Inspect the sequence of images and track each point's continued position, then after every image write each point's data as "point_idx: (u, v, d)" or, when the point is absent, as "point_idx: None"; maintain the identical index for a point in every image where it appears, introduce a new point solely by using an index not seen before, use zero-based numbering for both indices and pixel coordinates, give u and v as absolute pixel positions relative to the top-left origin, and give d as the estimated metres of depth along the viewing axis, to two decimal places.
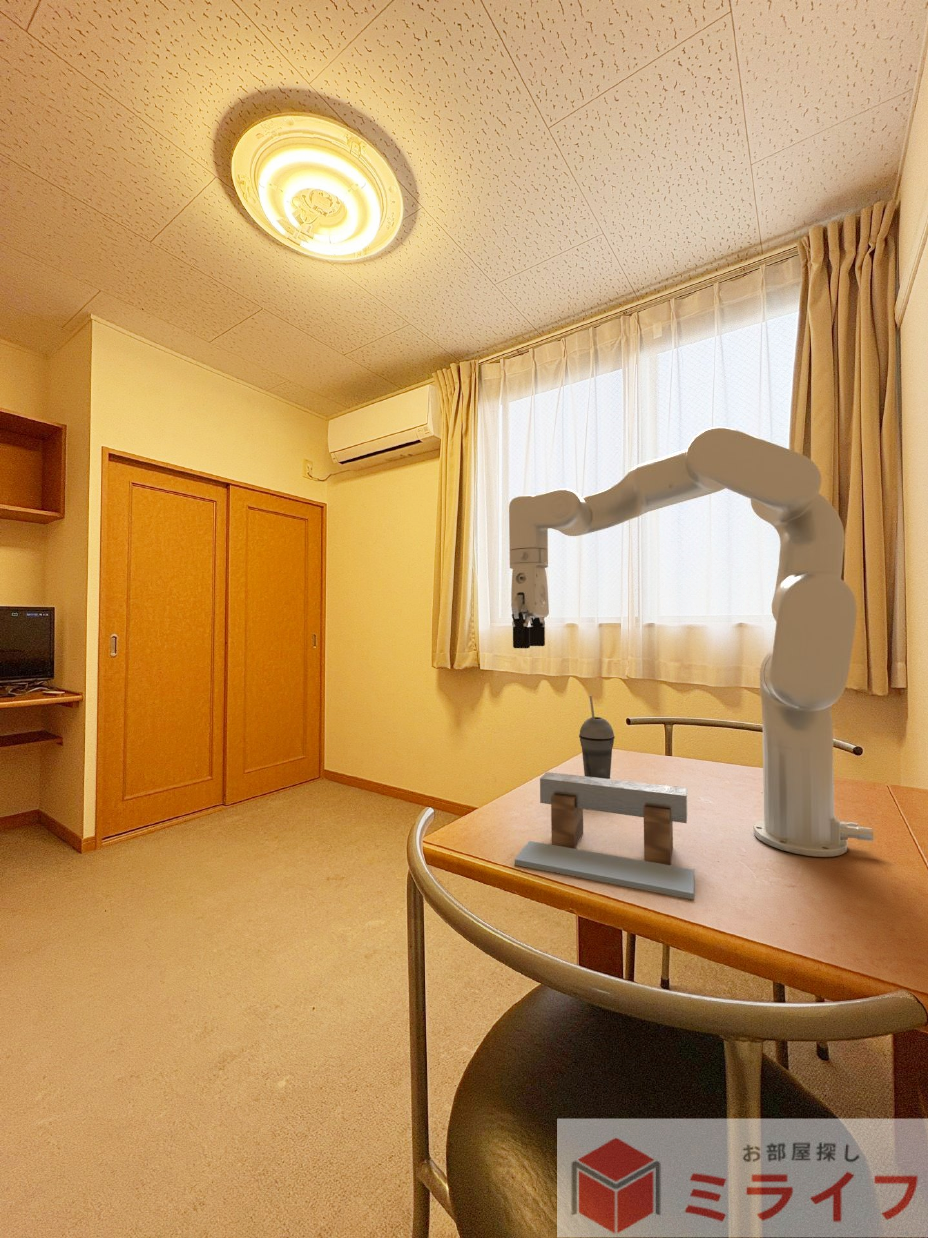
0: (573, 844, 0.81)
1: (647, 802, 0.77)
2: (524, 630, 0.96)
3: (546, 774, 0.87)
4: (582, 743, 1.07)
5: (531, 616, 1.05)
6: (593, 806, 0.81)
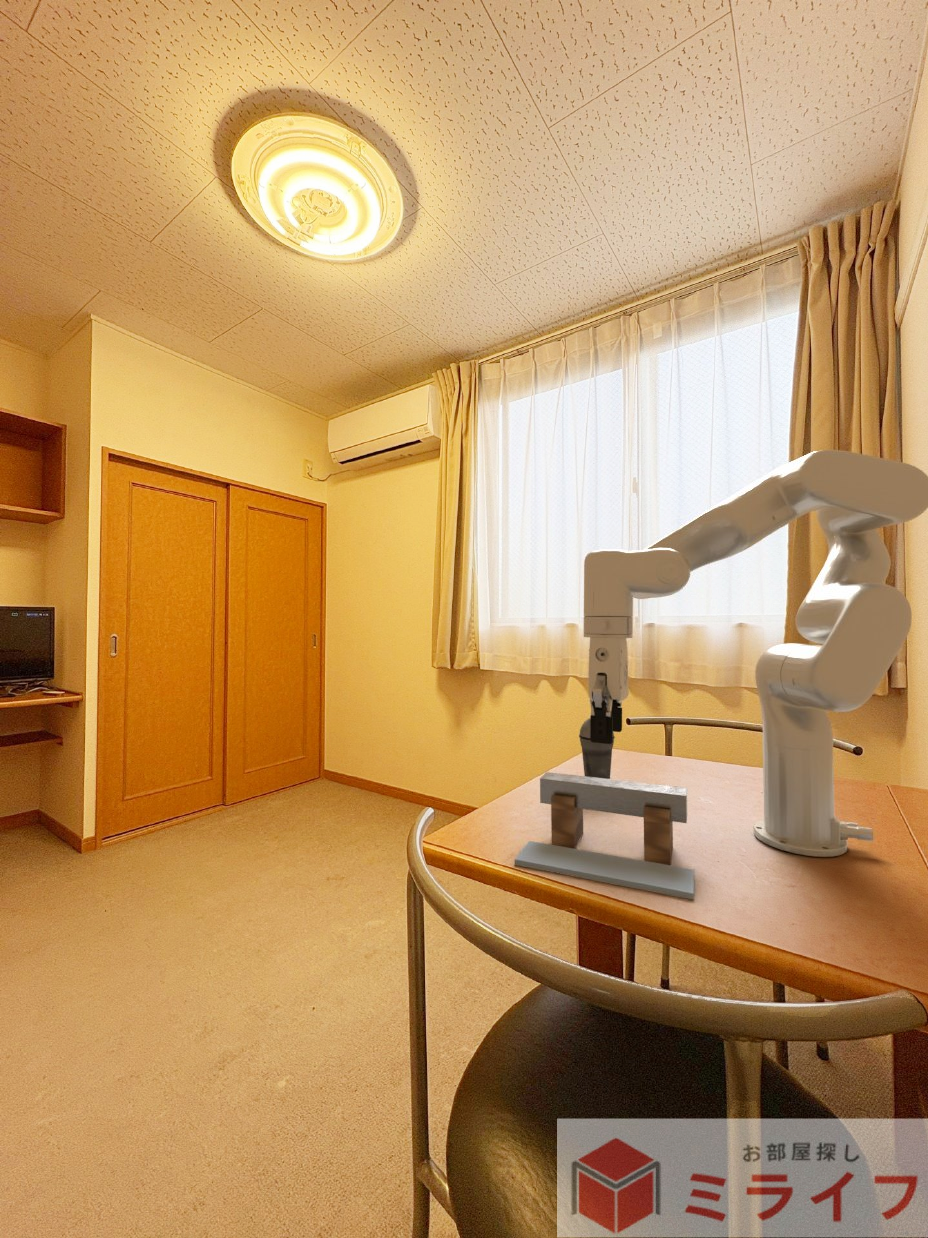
0: (573, 844, 0.81)
1: (647, 802, 0.77)
2: (606, 721, 0.76)
3: (546, 774, 0.87)
4: (582, 743, 1.07)
5: None
6: (593, 806, 0.81)
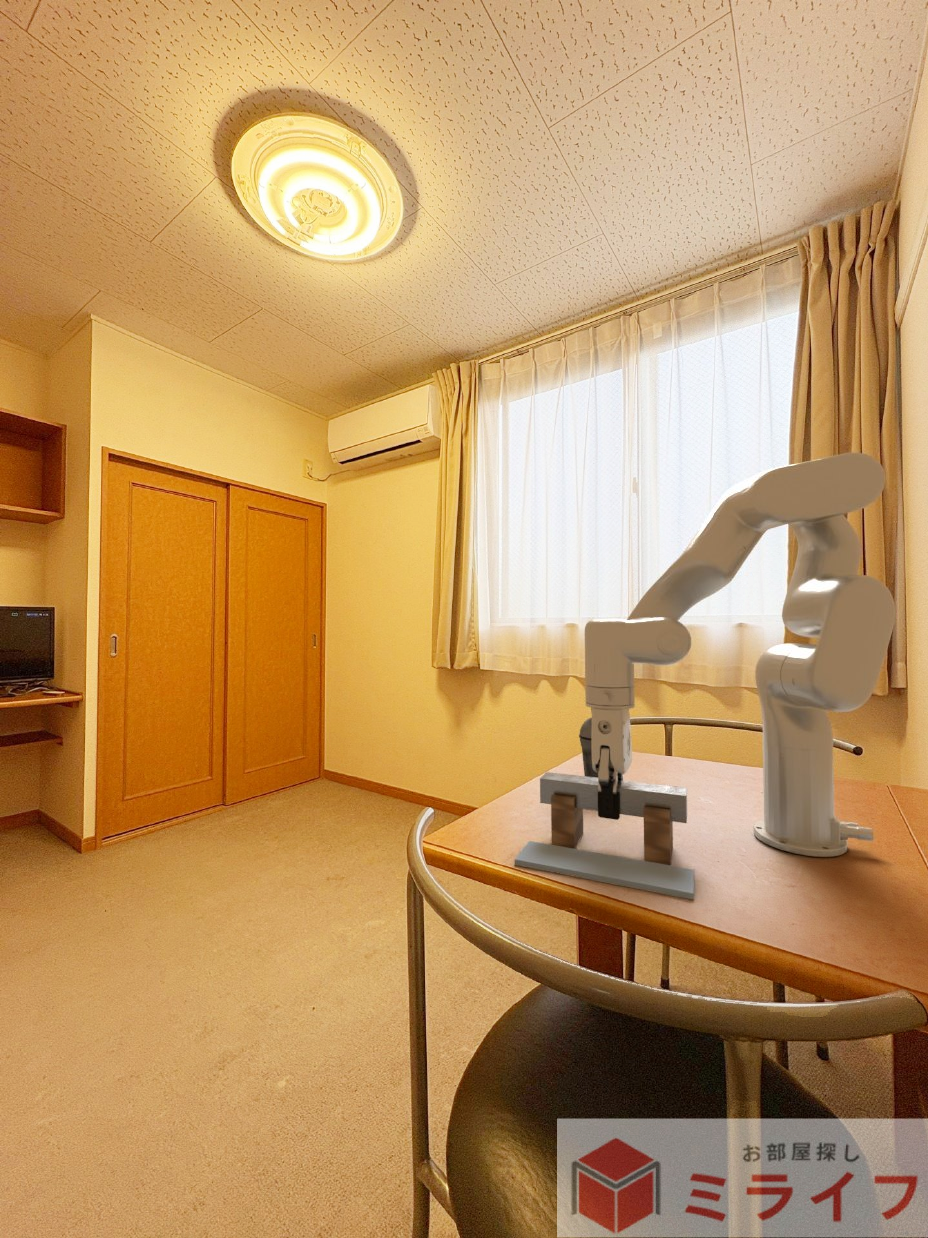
0: (573, 844, 0.81)
1: (647, 802, 0.77)
2: (613, 798, 0.79)
3: (546, 774, 0.87)
4: (582, 743, 1.07)
5: None
6: (593, 806, 0.81)
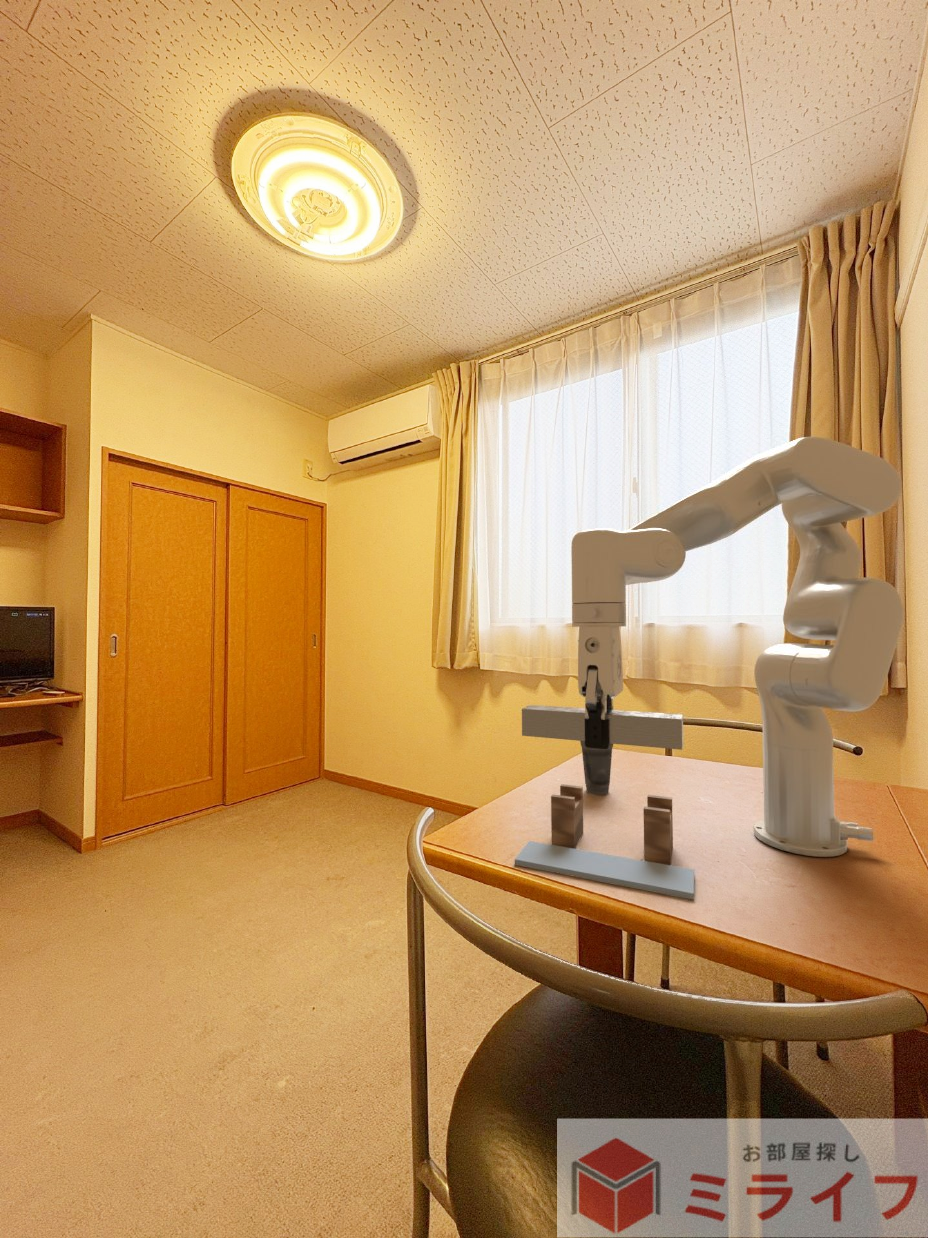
0: (573, 844, 0.81)
1: (639, 729, 0.70)
2: (601, 725, 0.71)
3: (529, 706, 0.79)
4: (582, 743, 1.07)
5: (597, 694, 0.76)
6: (579, 736, 0.73)
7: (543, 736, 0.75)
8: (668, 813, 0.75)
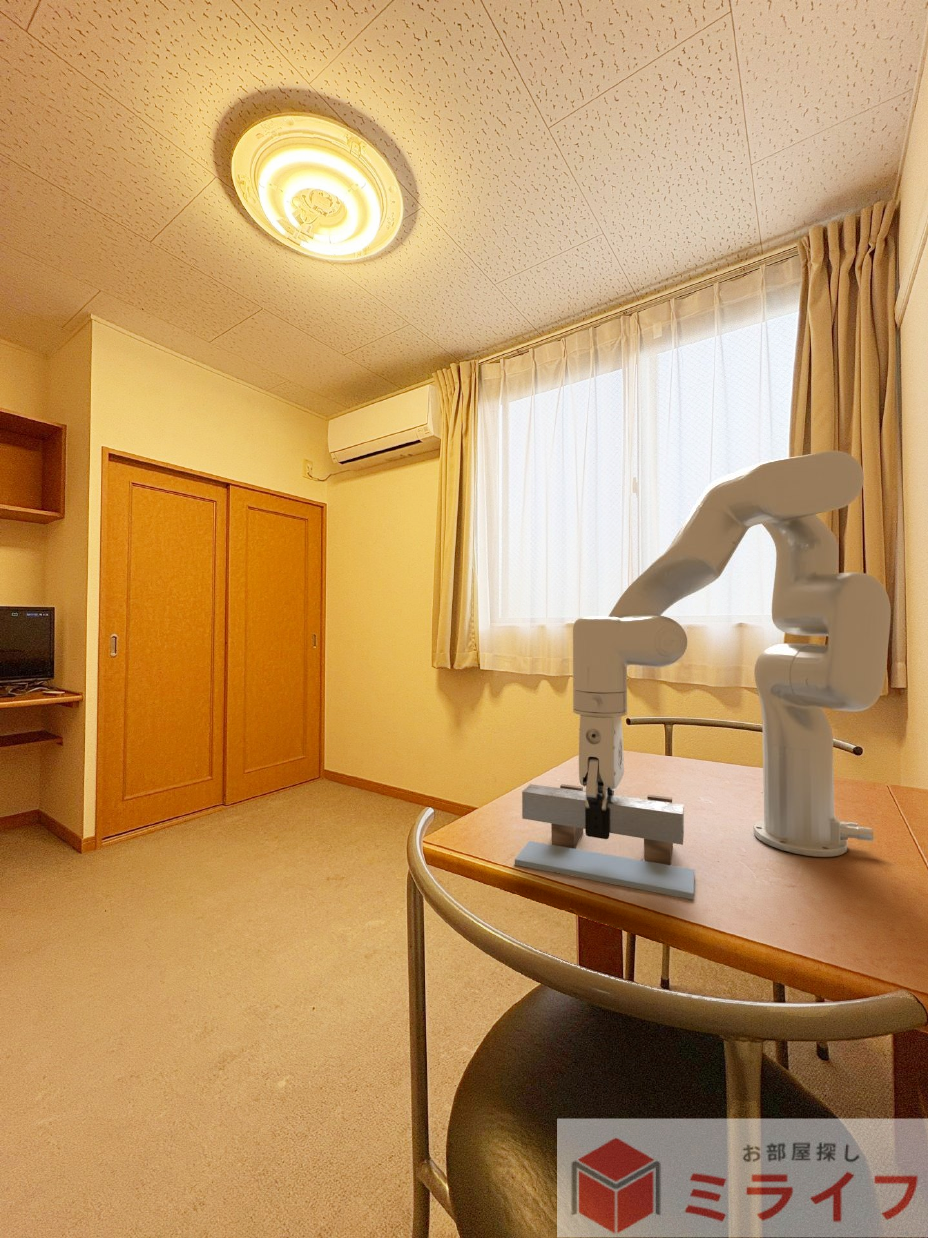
0: (573, 844, 0.81)
1: (639, 821, 0.70)
2: (602, 815, 0.71)
3: (529, 787, 0.79)
4: None
5: None
6: (580, 823, 0.73)
7: (543, 821, 0.75)
8: None
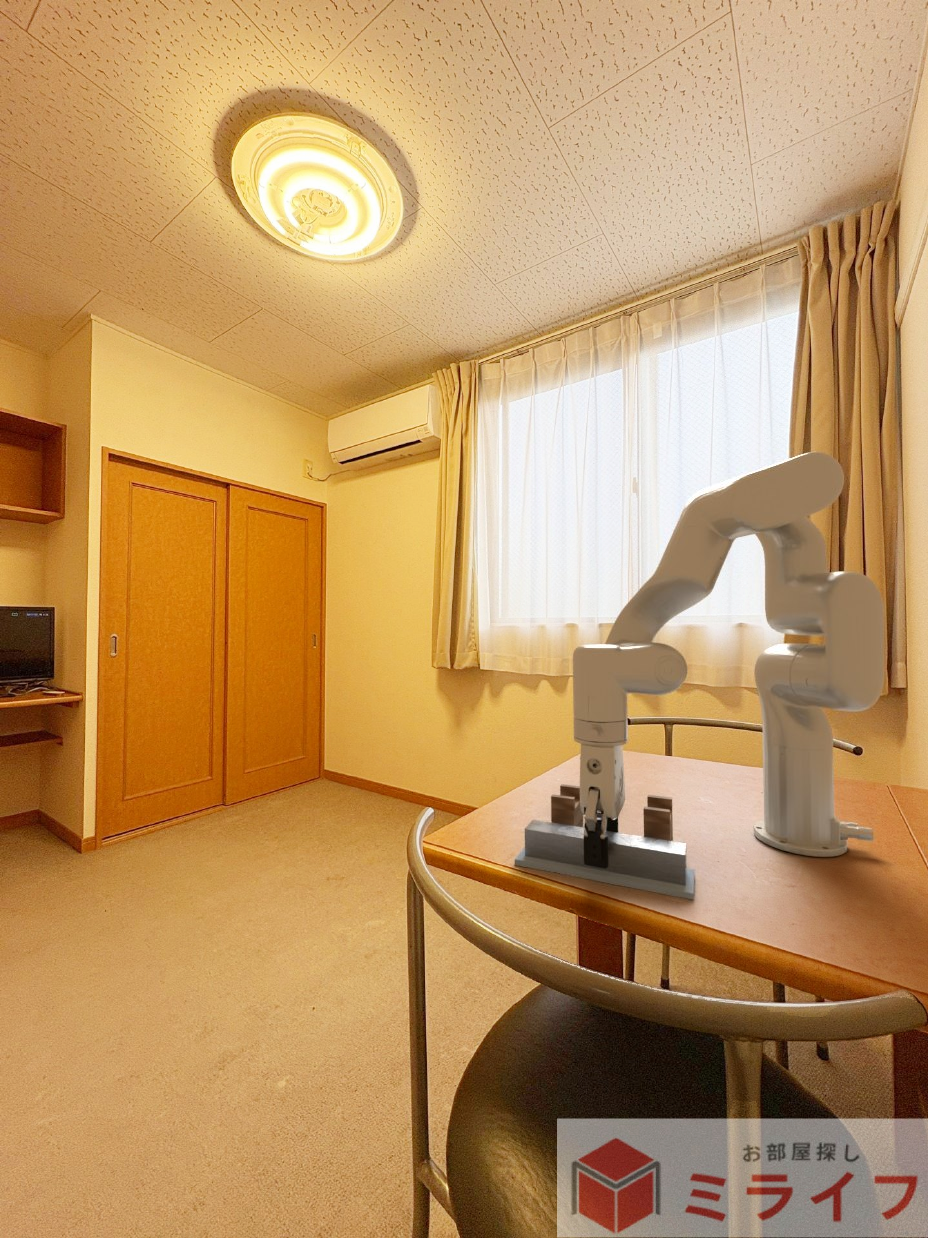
0: None
1: (642, 861, 0.70)
2: (601, 844, 0.69)
3: (532, 823, 0.79)
4: None
5: None
6: (582, 862, 0.73)
7: (546, 858, 0.75)
8: (668, 813, 0.75)
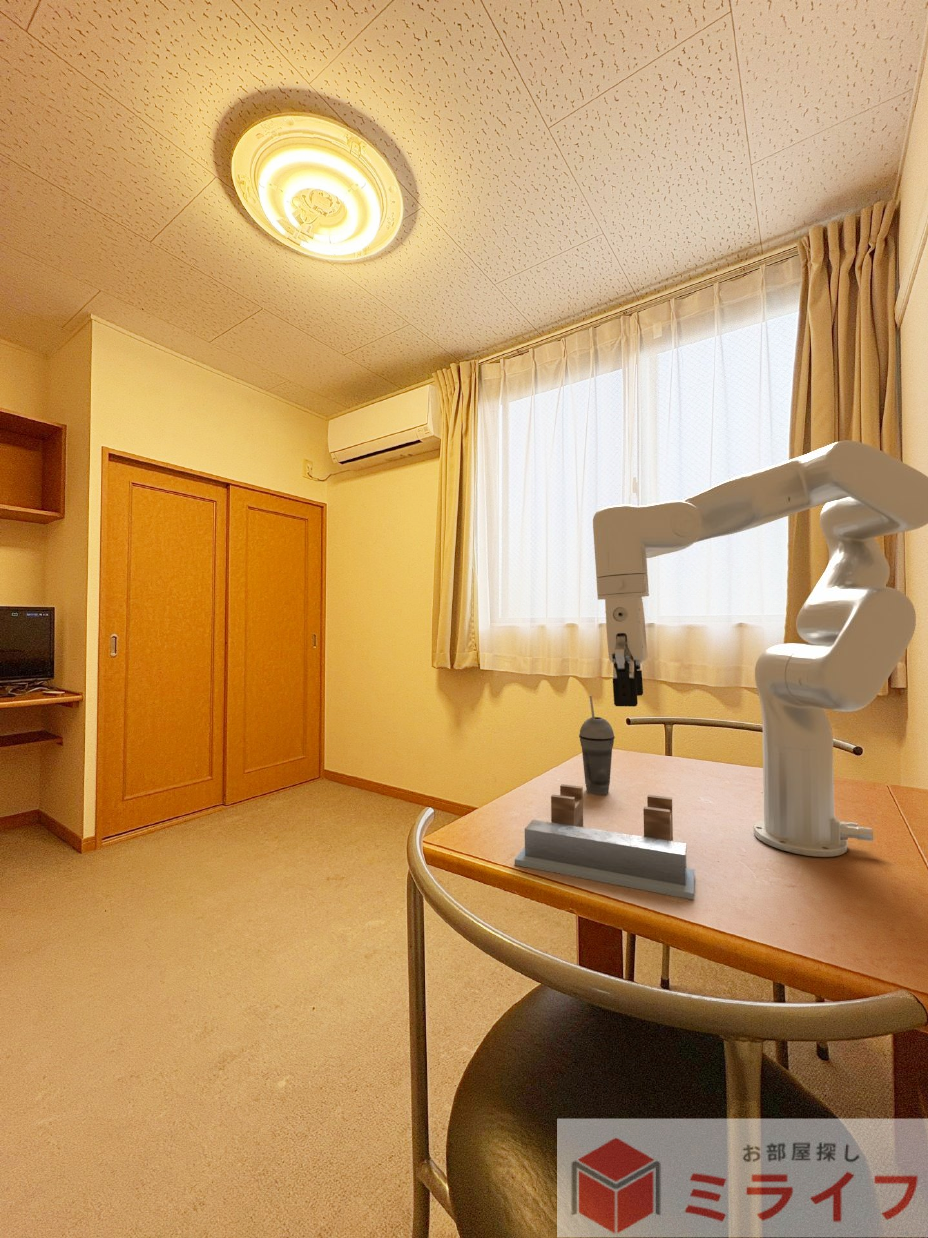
0: None
1: (642, 861, 0.70)
2: (630, 683, 0.73)
3: (532, 823, 0.79)
4: (582, 743, 1.07)
5: None
6: (582, 862, 0.73)
7: (546, 858, 0.75)
8: (668, 813, 0.75)
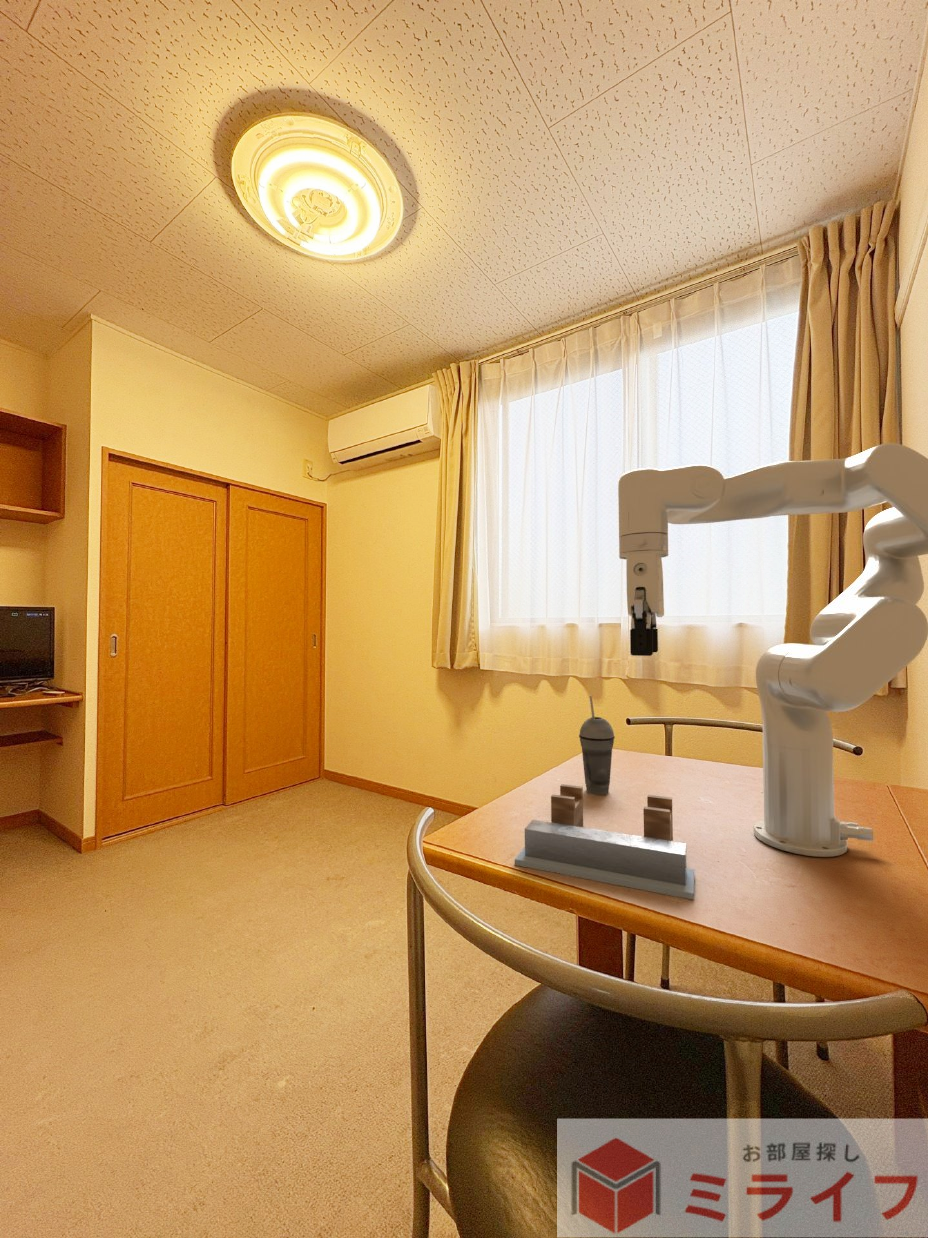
0: None
1: (642, 861, 0.70)
2: (646, 633, 0.78)
3: (532, 823, 0.79)
4: (582, 743, 1.07)
5: None
6: (582, 862, 0.73)
7: (546, 858, 0.75)
8: (668, 813, 0.75)
